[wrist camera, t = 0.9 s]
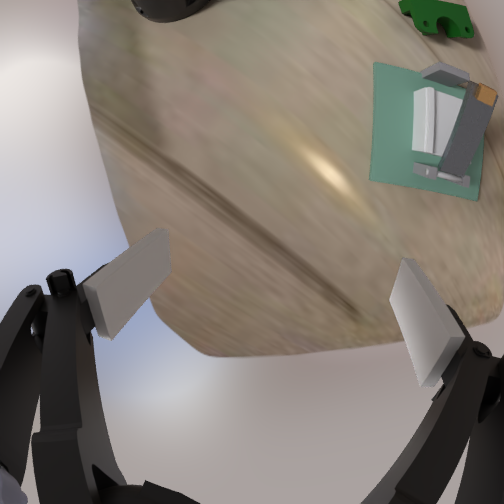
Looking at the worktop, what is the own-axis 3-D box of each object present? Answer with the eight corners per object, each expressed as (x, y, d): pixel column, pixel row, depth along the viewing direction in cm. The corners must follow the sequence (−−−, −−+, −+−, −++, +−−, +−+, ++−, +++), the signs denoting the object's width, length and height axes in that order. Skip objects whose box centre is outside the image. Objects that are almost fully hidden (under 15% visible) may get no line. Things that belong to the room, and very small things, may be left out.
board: (373, 61, 29) (386, 46, 22) (480, 95, 26) (505, 91, 19) (369, 179, 36) (382, 188, 29) (473, 199, 33) (498, 212, 26)
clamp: (408, 37, 28) (409, 31, 23) (398, 7, 25) (397, -4, 19) (469, 40, 22) (482, 37, 16) (460, 10, 18) (471, 1, 13)
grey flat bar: (469, 76, 16) (476, 82, 15) (495, 88, 15) (502, 95, 15) (437, 165, 27) (441, 173, 27) (460, 171, 27) (464, 179, 26)
